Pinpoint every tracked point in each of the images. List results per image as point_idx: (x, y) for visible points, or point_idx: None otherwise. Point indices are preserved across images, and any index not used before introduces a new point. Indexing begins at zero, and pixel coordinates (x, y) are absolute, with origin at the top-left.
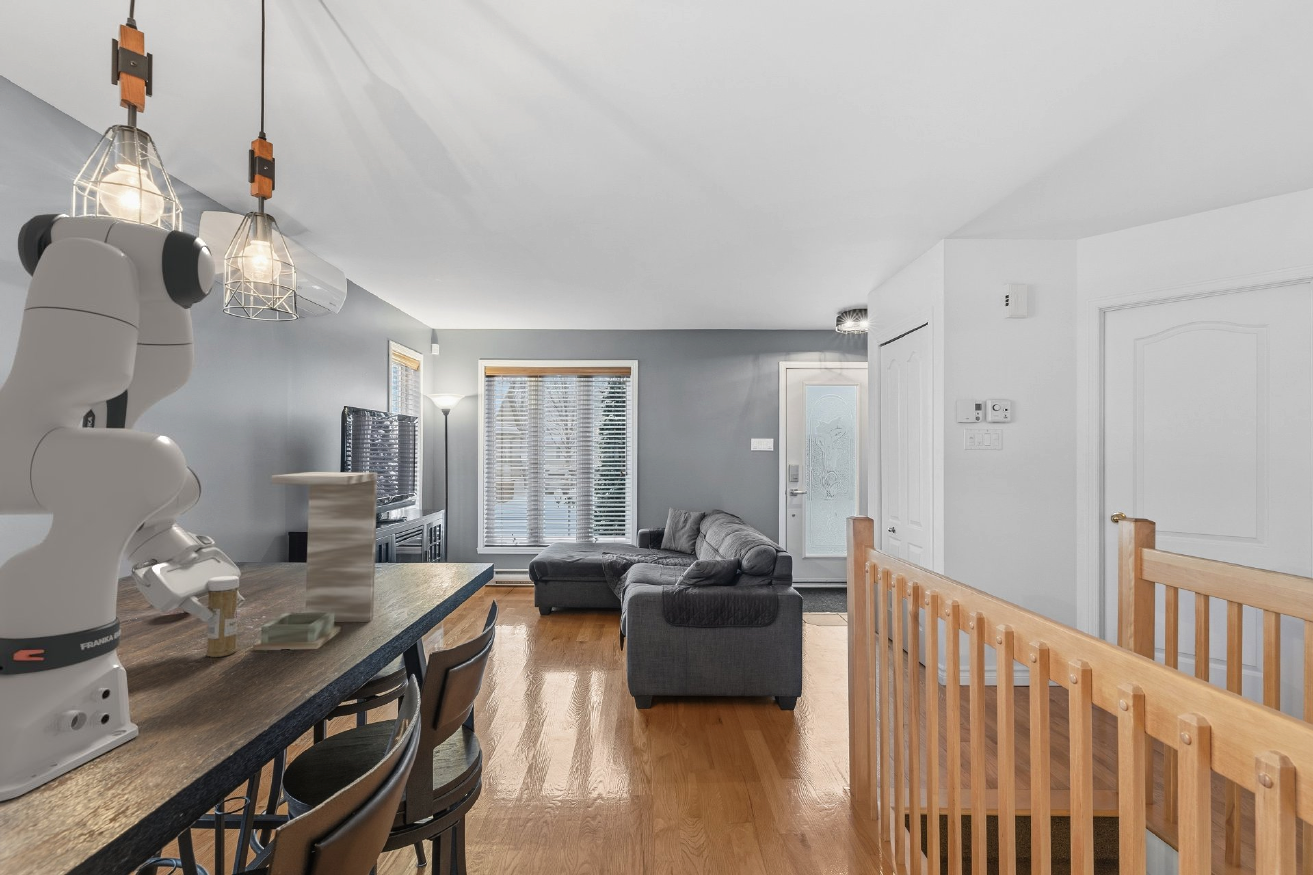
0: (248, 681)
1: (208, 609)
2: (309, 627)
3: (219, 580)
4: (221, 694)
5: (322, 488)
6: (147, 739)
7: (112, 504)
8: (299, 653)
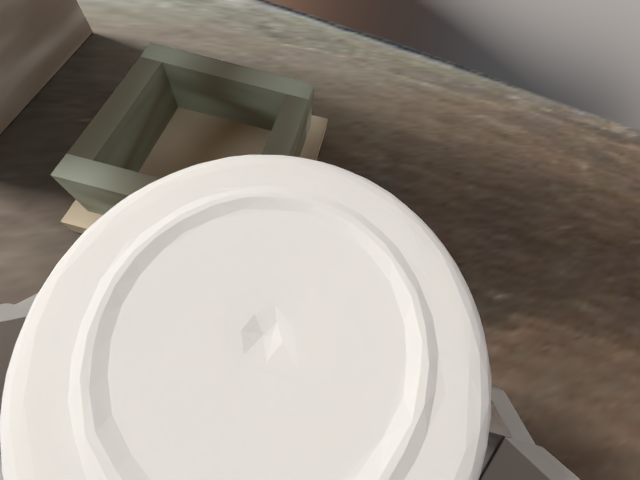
0: (563, 245)
1: (502, 418)
2: (309, 101)
3: (480, 352)
4: None
5: None
6: None
7: None
8: (353, 164)
